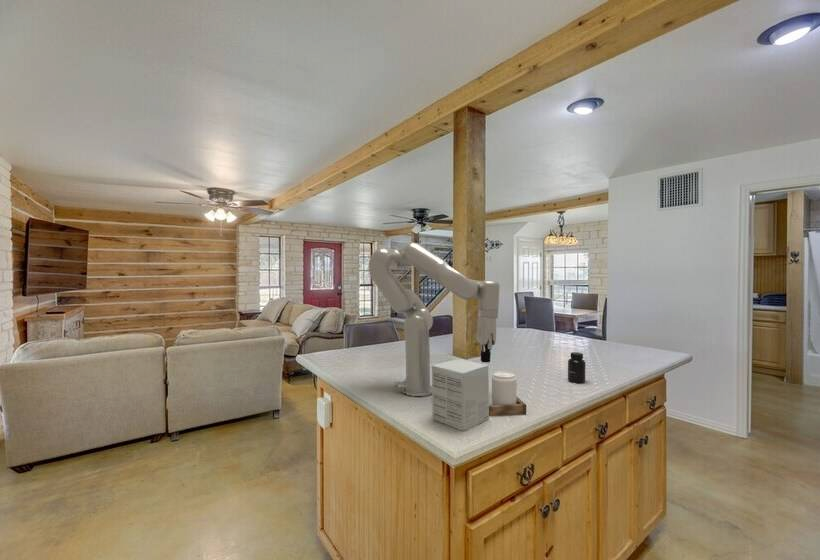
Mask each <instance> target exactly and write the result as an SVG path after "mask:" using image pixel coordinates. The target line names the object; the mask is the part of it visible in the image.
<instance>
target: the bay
mask: <svg viewBox="0 0 820 560" xmlns="http://www.w3.org/2000/svg"><path fill="white" fill-rule="evenodd" d="M512 415H513V416H514V415H518V416H519V415H527V404H526V403H525V402H524V401H522V400H521V398H519V397H518V396H517V404H510V405H492V404H491V405H490V404H489V417H494V416H495V417H496V416H512Z"/></svg>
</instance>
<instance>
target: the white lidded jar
mask: <svg viewBox="0 0 820 560" xmlns="http://www.w3.org/2000/svg"><path fill="white" fill-rule="evenodd" d="M517 397H518V395H517V377H516V375H515V373H513V372H510V371H503V370H500V371H495V372H493V375H492V376H491V405H510V404H517Z"/></svg>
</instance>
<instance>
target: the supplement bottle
mask: <svg viewBox="0 0 820 560" xmlns="http://www.w3.org/2000/svg"><path fill="white" fill-rule="evenodd" d="M586 367H587V366H586V361H585V360H584V354H583V353H582V352H578V351H577V352H576V351H572V352H570V358H569V359H568V361H567V381H568V382H570V383H573V384H580V385H581V384H584V383H586Z"/></svg>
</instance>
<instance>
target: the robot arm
mask: <svg viewBox="0 0 820 560" xmlns="http://www.w3.org/2000/svg"><path fill="white" fill-rule="evenodd" d="M411 266H412V267H413V268H415V269H417V270H418V271H420V272H421V273H423V274H425V276H427V277H429V278H430V279H432V280H433V281H434V282H436V283H438V284H439V285H441V286H442V287H443V288H445V289H447V290H448V291H449V292H450V293H453V295H455V296H457V297H458V298H460V299H462V300H465V301H470V300H473V299H478V301H477V302H478V304H477V318H478V320H477V327H476V328H477V329H476V337H475V339H476V341H477V342H478V343H480V362H482V363H491V351H492V350H493V346H494V345H496V341H497V319H499V305H500V283H499V282H498V281H496V280H475V279H470V278H468V277H466V276H465V275H464V274H462V273H461V272H459V271H457V270H455V268H453V267H452V266H451V265H449V264H448V262H447V261H446V260H445V259H443V258H442V257H440V256H438V255H436V254H435V253H433V252H432V251H430V250H428V249H427V248H425V246H423V245H422V244H421V243H417V242H412V241H411V242H408V243H406V245H404V246H402V247H397V248H396V247H395V248H388V247H380V248H378V249H376V250H375V251H373V253H372V255H371V256H370V257H369V261H368V271H369V272H368V273H369V275H370V277H371V280H372V281H373V283H374V284H375V285H376V288H377V289H378V290H379V291H380V292H381V295H382V296H383V298H384V299H385V300H386V301H387V303H388V304H389V305H390V307H391V309H392V310H393V312H395V313H397V314H400V315H401V314H403V315H404V316H405V320H404V322H403V324H404V325H403V333H404V334H403V335H404V341H405V345H404V347H405V375H406V376H405V378H404V380H402V381H394V388H398V389H402V390H401V391H403V392H404V393H406V394H408V395H412V396H411V397H415V396H421V397H427V396H432V385H431V353H430V351H431V349H430V346H431V345H430V334H429V330H430V329H431V328H432V326H433V324H434V319H433V318H434V317H433V316H432V314H431V312H430V311H429V310H428V308H427V307H426V305H425V304H424V303H423V302H422V300H421V299H420V297H419V296H418V295H417V293H415V292H414V291H413V290H411V289H410V288H405V287H404V286H403V285H402V283H401V281H400V280H399V279H398V277H397V276H396V275H395V273H393V271H392V270H396V269H401V268H405V267H406V268H407V267H411ZM403 392H402V393H403ZM404 393H403V394H404ZM408 395H407V396H408Z"/></svg>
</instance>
